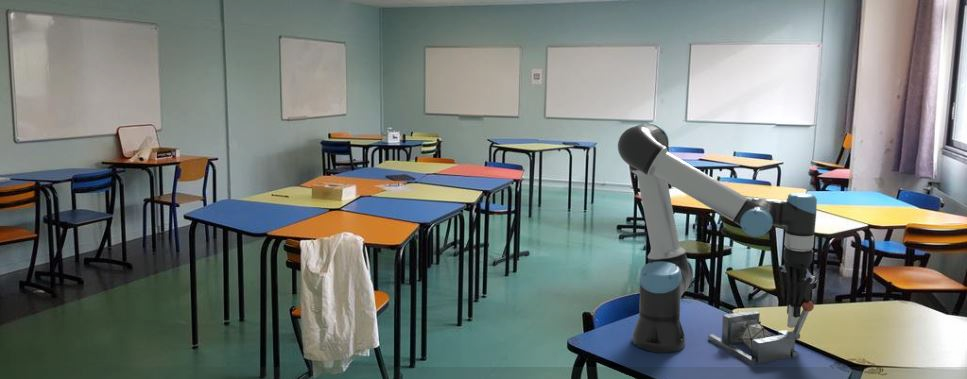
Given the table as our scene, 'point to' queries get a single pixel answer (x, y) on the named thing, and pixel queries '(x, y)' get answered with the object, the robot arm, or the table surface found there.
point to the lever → (802, 318)
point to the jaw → (737, 325)
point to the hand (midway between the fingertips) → (792, 326)
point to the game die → (754, 334)
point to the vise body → (763, 348)
